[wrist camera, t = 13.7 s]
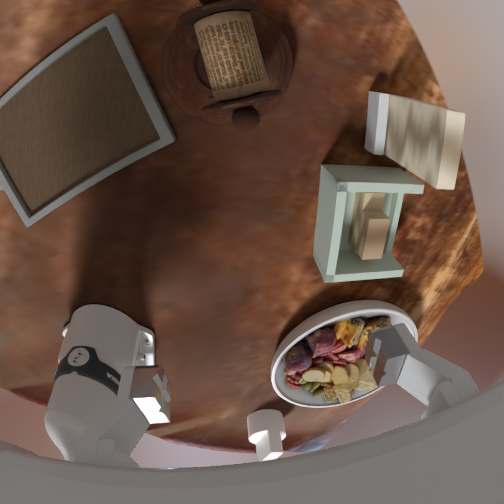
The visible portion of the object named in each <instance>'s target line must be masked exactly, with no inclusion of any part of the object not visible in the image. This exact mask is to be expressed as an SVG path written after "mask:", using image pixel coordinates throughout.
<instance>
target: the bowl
mask: <svg viewBox="0 0 504 504" xmlns="http://www.w3.org/2000/svg"><path fill="white" fill-rule="evenodd" d="M400 323H404V324H405V325H406V326H407V328H408V329H409V331H410V333H411V334H412V336H413V337H414V339H415V340H416V342H417V343H418V332H417V328H416V326H415V324H414V322H413V321H412V319H411V318H410V316H409V315H408V314H407V313H406V312H405V311H403V310H402V309H400V308H399V307H397V306H395V305H393V304H390V303H387V302H383V301H377V300H357V301H351V302H346V303H342V304H338V305H335V306H332V307H329V308H327V309H324V310H322V311H320V312H318V313H316V314H314V315H312V316H311V317H309V318H307V319H306V320H304V321H303V322H302V323H300V324H299V325H298V326H296V327H295V328H294V329H293V330H292V331H291V332H290V333H289V334H288V335H287V336H286V337H285V338H284V340H283V341H282V342H281V344H280V345H279V347H278V348H277V350H276V352H275V354H274V357H273V360H272V364H271V381H272V385H273V388H274V390H275V391H276V393H277V394H278V395H279V396H280V397H281V398H283V399H284V400H286V401H288V402H290V403H292V404H295V405H299V406H304V407H314V408H321V407H332V406H338V405H342V404H346V403H350V402H353V401H356V400H358V399H361V398H363V397H366V396H368V395H370V394H372V393H374V392H376V391H377V390H379V389H381V388H382V387H384V386H382V387H378V386H377V384H376V382H375V379H374V377H373V372H374V370H373V369H371V368H370V367H369V366H368V364H367V362H366V358H365V346H366V345H367V343H368V342H369V341H368V339H367V337H368V333H369V332H370V331H372V330H376V329H380V328H384V327H387V326H392V325H396V324H400Z"/></svg>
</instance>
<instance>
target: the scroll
mask: <svg viewBox="0 0 504 504" xmlns="http://www.w3.org/2000/svg"><path fill="white" fill-rule="evenodd" d="M199 1H200V2H201V3H202V6H200V7H197V8H195V9H192V10H190V11H188V12H186V13H184V14H183V15H182V16H180V17H179V19H178V20H177V21H176V24H177V27H176V29H175V30H174V31H173V32H172V34H171V35H170V37H169V39H168V41H167V43H166V45H165V48H164V51H163V55H162V63H161V69H162V77H163V81H164V84H165V87H166V89H167V91H168V93H169V95H170V96H171V98H172V99H173V101H174V102H175V103H176V104H177V105H178V106H179V107H180V108H181V109H182V110H183V111H185V112H186V113H187V114H189V115H191V116H192V117H194V118H196V119H198V120H201V121H204V122H207V123H211V124H217V125H234V126H235V127H236V128H237V129H238V130H240V131H243V132H246V131H251V130H253V129H255V128H256V127H257V126H258V124H259V121H260V116H262V115H263V114H265V113H266V112H268V111H269V110H270V109H272V108H273V107H274V106H275V105H276V104H277V103H278V102H279V101H280V99H281V98H282V97H283V95H284V93H285V92H286V90H287V88H288V86H289V83H290V81H291V77H292V72H293V54H292V50H291V46H290V43H289V41H288V39H287V37H286V35H285V33H284V32H283V31H282V29H281V28H280V27H279V26H278V25H277V24H276V23H275V22H274V21H273V20H272V19H271V18H270V17H268V16H267V15H265V14H263V13H262V12H260V11H258V10H255V9H256V8H258V7H259V6H260V4H259V2H258V1H256V0H199Z"/></svg>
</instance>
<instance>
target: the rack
mask: <svg viewBox="0 0 504 504" xmlns="http://www.w3.org/2000/svg"><path fill="white" fill-rule="evenodd" d="M423 190H424V185H423V184H422V183H421V182H419V181H418V180H416V179H415V178H413V177H412V176H410V175H409V174H408V173H406V172H405V171H403V170H402V169H400V168H394V167H378V166H358V165H329V164H321V173H320V186H319V197H318V208H317V219H316V229H315V238H314V247H313V257H314V259H315V261H316V263H317V266H318V268H319V270H320V273H321V275H322V277H323V279H324V282H325V283H329V282H343V281H356V280H368V279H380V278H391V277H402V274H403V271H404V269H403V268H402V267H401V265H400V264H399V263H398V261H397V260H396V259H395V258H394V256H393V255H392V254H391V251H392V247H393V243H394V239H395V234H396V230H397V226H398V221H399V216H400V211H401V206H402V201H403V196H404V193H413V194H423ZM356 192H383V193H385V197H384V203H383V208H382V211H383V212H384V213H385V214H386V215H387V216H388V217H389V218H390V222H389V227H388V232H387V236H386V241H385V245H384V250H383V254H382V258H381V259H368V260H362V259H361V258H360V256H359V255H358V253H355V252H354V251H353V249H352V248H351V246H350V245H349V243H348V240H349V234H350V228H351V221H352V214H353V207H354V200H355V193H356Z"/></svg>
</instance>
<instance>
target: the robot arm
mask: <svg viewBox="0 0 504 504" xmlns="http://www.w3.org/2000/svg"><path fill="white" fill-rule="evenodd" d="M63 336H64V337H65V338H64V341H63V344H62V347H61V351H60V355H59V358H58V362H59V366H58V368H57V369H56V372H55V377H54V384H55V385H54V388H53V391H52V393H51V396H50V399H49V402H48V405H47V409H46V412H45V416H44V417H45V418H44V420H45V426H46V429H47V432H48V434H49V436H50V437H51V439H52V440H53V441H54V443H55V444H56V445H57V446H58V448H59V449H60V450H61V452H62V454H63V456H64V458H65V460H66V461H65V460H59V459H53V458H47V457H42V456H39V455H37V454H35V453H33V452H31V451H29V450H26V449H24V448H21V447H18V446H16V445H13V444H10V443H7V442H5V441H2V440H0V504H504V380H503V381H501V382H499V383H497V384H496V385H494V386H492V387H490V388H488V389H486V390H484V391H483V392H480V391H479V389H478V387H477V386H476V384H475V383H474V381H473V379H472V378H471V376H470V375H469V373H468V372H467V371H466V370H464V369H462V368H460V367H458V366H456V365H454V364H453V363H451V362H449V361H447V360H445V359H443V358H441V357H439V356H437V355H435V354H433V353H431V352H430V351H428V350H426V349H422V350H421V348H420V346H419V345H418V343H417V342H416V340H415V339H414V337H413V336H412V334H411V333H410V331H409V329H408V328H407V326H406V325H405V324H404V323H400V324H396V325H392V326H387V327H384V328H380V329H376V330H372V331H370V332H369V333H368V337H367V339H368V341H369V342H368V343H367V345H366V346H365V358H366V362H367V364H368V366H369V367H370V368H371V369H373V370H374V372H373V377H374V379H375V382H376V384H377V386H378V387H382V386H386V385H389V384H393V383H397V384H398V385H399V386H401V387H402V388H404V389H405V390H406V391H408V392H409V393H410V394H412V395H413V396H414V397H416V398H417V399H419V400H420V401H421V402H422V403H424V404H425V405H427V408H426V409H425V411H424V413H423V414H422V416H421V420H418V421H416V422H413V423H410V424H408V425H405V426H403V427H399V428H397V429H394V430H391V431H388V432H385V433H382V434H379V435H375V436H372V437H369V438H366V439H362V440H359V441H355V442H352V443H348V444H344V445H341V446H336V447H332V448H328V449H324V450H320V451H315V452H311V453H306V454H301V455H296V456H291V457H285V458H279V459H273V460H266V461H259V462H251V463H244V464H234V465H223V466H210V467H194V468H193V467H191V468H139V465H138V464H137V463H136V462H135V461H134V460H133V459H131V457H129V455H130V454H131V452H132V451H133V449H134V448H135V446H136V445H137V443H138V442H139V440H140V439H141V437H142V436H143V434H144V433H145V431H146V430H147V428H148V427H149V425H150V424H149V423H166V422H170V407H169V405H168V402H169V401H170V400H171V386H170V383H169V380H168V378H167V377H166V376H164V370H163V368H162V366H161V365H155V344H154V333H153V332H152V331H151V330H150V329H148V328H145V327H143V326H141V325H138V324H137V323H136V322H134V321H133V320H132V319H131V318H130V317H128V316H127V315H126V314H124V313H122V312H120V311H119V310H116V309H114V308H111V307H108V306H104V305H97V304H91V305H85V306H82V307H80V308H78V309H77V310H76V311H75V312H74V313H73V315H72V318H71V321H70V323H69V324H68V325H67V326H65V327H64V329H63Z"/></svg>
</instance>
